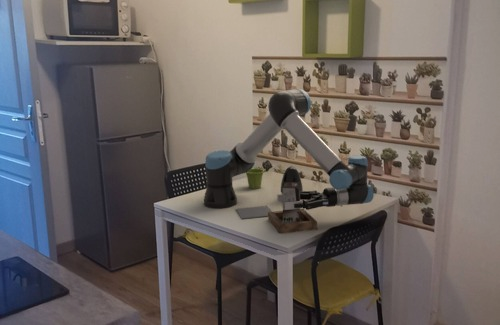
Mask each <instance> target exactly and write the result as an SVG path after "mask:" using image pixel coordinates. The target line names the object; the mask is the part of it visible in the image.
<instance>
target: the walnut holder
mask: <svg viewBox="0 0 500 325" xmlns="http://www.w3.org/2000/svg"><path fill="white" fill-rule="evenodd" d="M267 219H268V221H269V222H270V223H271V225H272V226H273V227H274V229H275V230H276V231H277V232H278V234H286V233H297V232H303V231H304V230H306V231H313V230H312V229H315V230H318V221H317V220H316V219H315V218H314V217H313V216H312V215H311V214H310V213H309V212H307V210H306V209H304V208H300V220H302V221H300V222H293V223H284V224H283V221H281V220H283V210H277V211H274V210H273V211H272V212H268V218H267ZM296 231H297V232H296ZM304 232H305V231H304Z"/></svg>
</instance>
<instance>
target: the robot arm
mask: <svg viewBox="0 0 500 325" xmlns="http://www.w3.org/2000/svg"><path fill="white" fill-rule="evenodd" d="M311 106H312V101H311V97H310V95H309V93H308V92H307V91H305V90H304V89H302V88H292V89H287V90H280V91H277V92H275V93H274V94H272V96H271V97H270V98H269V101H268V107H267V109H268V112H269V114H268V115H267V116H266V117H265V118H264V120H263V121H262V122H260V124H259V125H258V126H257V127H256V128H255V129H254V130H253V132H252V133H250V135H249V136H248V137H246V139H245V140H244V141H242V142H238V143H237V144H236V145H235V146H234V147H233V148H232V149H231V150H230V151H229V150H222V149H221V150H217V151H212V152H210V153H208V154H207V155H206V157H205V162H204V164H205V165H204V166H205V177H206V179H205V180H206V190H205V194H204V197H203V205H204V206H205V207H207V208H213V209H223V208H224V209H225V208H230V207H234V206H236V205H237V203H238V197H237V194H236V193H235V189H234V186H233V178H234V177H236V176H240V175H243V174H246V172H248V171H249V170H251V169H254V167H255V163H256V161H257V156H258V155H259V154H260V152H262V150H264V148H266V147H267V145H269V144H270V142H271V141H272V140H273V139H274V138H275V137H276V136H277V135H278V134H279V133H280V132H282V130H285V131H286V132H287V133H288V134H289V135H290V136H291V137H292V138H293V139H294V141H296V143H298V144H299V145H300V147H301V148H302V149H303V150H304V151H305V152H306V153H307V154H308V155H309V156H310V157H311V158H312V159H313V161H314V162H315V163H316V164H317V165H318V166H319V167H320V168H321V169H322V171H324V172H325V173H326V174H327V176H328V177H329V179H328V180H329V183H330V186H331V187H326V188H324V189H323V191H322V192H320V191H319V192H318V191H317V190H303V191H300V201H294V202H285V210H288V209H298V208H300V209H304V210H305V211H309V210H313V209H317V208H322V207H326V208H327V207H328V208H331V207H339V206H340V207H343V206H349V205H363V204H368V203H371V202H372V201H373V199H374V194H375V192H374V189H373V187H372V185H370V184H368V167H369V164H368V158H367V157H366V156H364V155H351V156H349V157H348V159H347V160H348V161H347V164H346V163H344V162H343V161H342V159H341V158H340V157H339V156H338V155H337V154H336V153H335V152H334V151H333V150H332V149H331V148H330V147H329V146H328V145H327V144H326V143H325V142H324V141H323V139H322V138H320V136H319V135H318V134H317V133H316V132H315V131H314V130H313V129H312V128H311V126H310V125H308V124H307V123H306V122H305V120H303V118H302V117H304V116H305V115H306V114H308V113H309V112H310V110H311ZM276 196H277V197H276V198H277V199H276V200H277V202H283V194H282V193H279V194H276Z"/></svg>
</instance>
